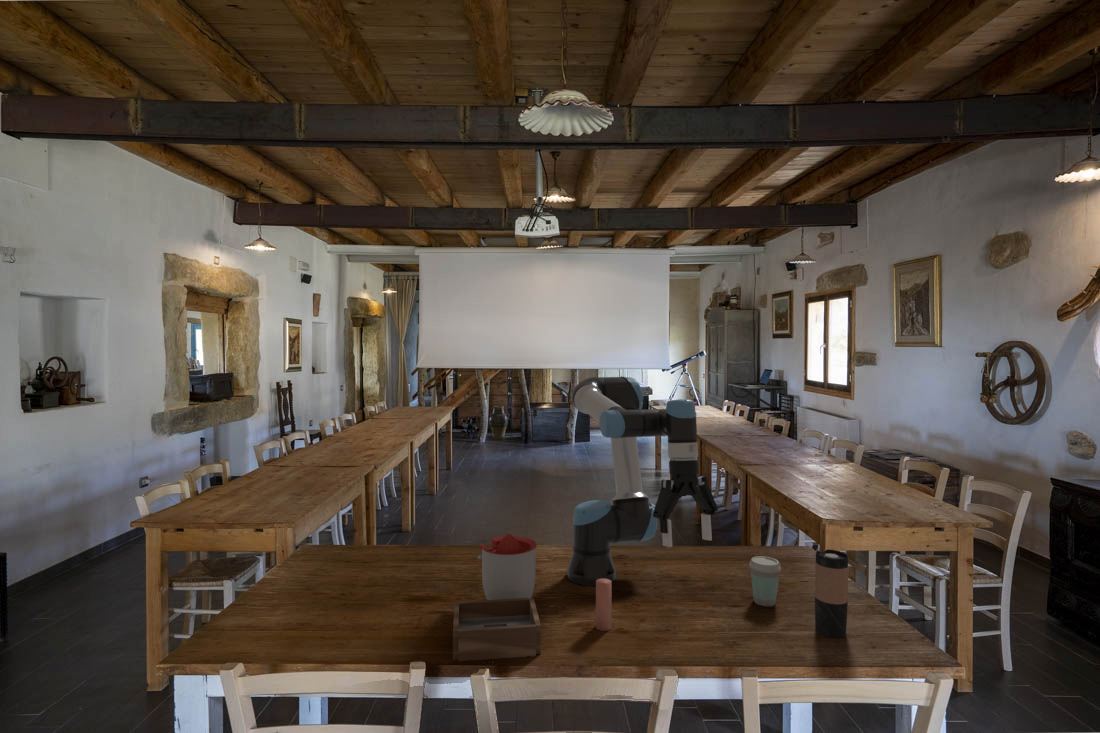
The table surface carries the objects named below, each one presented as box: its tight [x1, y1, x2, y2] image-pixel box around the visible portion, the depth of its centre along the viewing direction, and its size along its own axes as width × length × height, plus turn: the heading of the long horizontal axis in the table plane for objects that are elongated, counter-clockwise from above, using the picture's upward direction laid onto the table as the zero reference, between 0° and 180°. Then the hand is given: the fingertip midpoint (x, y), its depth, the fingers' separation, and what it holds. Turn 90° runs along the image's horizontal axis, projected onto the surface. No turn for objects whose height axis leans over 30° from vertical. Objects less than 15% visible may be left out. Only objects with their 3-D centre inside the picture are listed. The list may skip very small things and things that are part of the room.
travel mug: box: [814, 549, 849, 639], centre depth 153 cm, size 8×8×20 cm
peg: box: [595, 578, 613, 632], centre depth 155 cm, size 4×4×12 cm
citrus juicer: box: [477, 533, 537, 600], centre depth 170 cm, size 16×17×20 cm
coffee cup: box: [748, 555, 782, 607], centre depth 171 cm, size 8×8×12 cm
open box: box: [452, 598, 542, 662], centre depth 148 cm, size 16×20×7 cm
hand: (687, 543), depth 154 cm, fingers open, 13 cm apart
